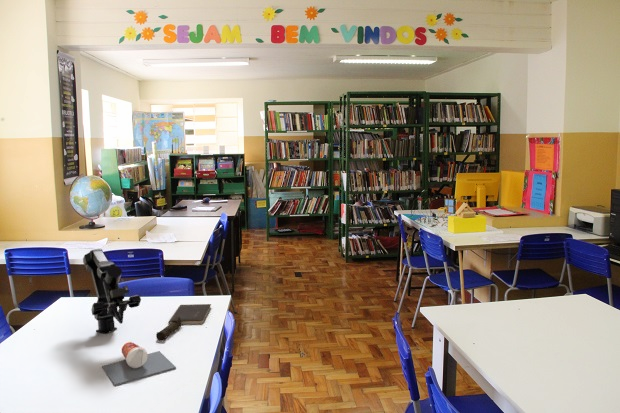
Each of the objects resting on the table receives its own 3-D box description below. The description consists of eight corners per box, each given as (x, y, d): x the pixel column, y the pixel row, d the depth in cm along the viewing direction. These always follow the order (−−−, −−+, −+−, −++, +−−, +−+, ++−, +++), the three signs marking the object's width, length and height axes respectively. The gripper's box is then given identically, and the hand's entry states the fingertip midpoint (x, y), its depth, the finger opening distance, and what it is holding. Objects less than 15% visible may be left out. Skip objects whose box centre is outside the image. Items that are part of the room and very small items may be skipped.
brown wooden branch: (164, 341, 212) (164, 331, 211) (156, 340, 213) (155, 330, 212) (186, 325, 230) (185, 316, 229) (178, 324, 231) (178, 315, 230)
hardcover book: (211, 308, 254) (211, 304, 254) (203, 324, 231) (202, 320, 231) (179, 309, 254) (179, 304, 253) (168, 325, 231) (168, 320, 231)
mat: (101, 367, 187) (101, 365, 187) (159, 352, 200) (159, 350, 200) (114, 385, 173) (114, 384, 173) (175, 368, 186) (175, 367, 186)
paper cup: (123, 337, 194) (131, 345, 182) (141, 341, 198) (151, 350, 186) (115, 357, 193) (123, 366, 181) (134, 361, 196) (143, 371, 185)
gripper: (91, 284, 198) (99, 318, 191) (138, 276, 209) (148, 308, 202) (87, 298, 205) (96, 331, 198) (133, 289, 216) (143, 321, 209)
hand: (121, 323), depth 201 cm, fingers closed
